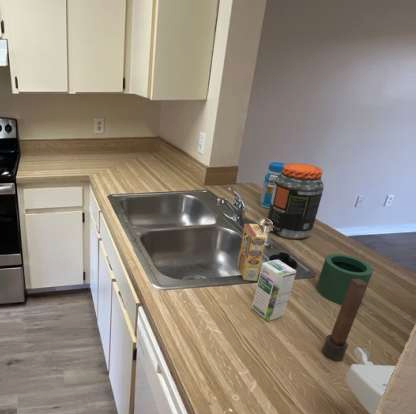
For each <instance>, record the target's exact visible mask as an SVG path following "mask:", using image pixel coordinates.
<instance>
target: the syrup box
mask: <svg viewBox="0 0 416 414" xmlns="http://www.w3.org/2000/svg"><path fill="white" fill-rule="evenodd" d="M296 275H297V270H296V269H295V268H293V267H291V266H289V265H288V264H286V263H285V262H282V261H281V260H280V259H273V260H268V261H265V262H263V263H261V266H260V270H259V274H258V279H257V284H256V288H255V293H254V297H253V301H252V305H251V309H252V310H253V311H255V312H256V313H257V314H258V315H259V316H260V317H262V318H263V319H264V320H265V321H266V322H270V321H273V320H277V319H280V318H282V317H284V316H285V313H286V310H287V305H288V302H289V299H290V295H291V292H292V288H293V285H294V282H295V278H296Z"/></svg>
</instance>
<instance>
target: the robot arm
mask: <svg viewBox="0 0 416 414" xmlns="http://www.w3.org/2000/svg"><path fill="white" fill-rule="evenodd" d="M353 354H354V356H355V358H356V359H357V360H358V363H352V364H351V365H349V367H348V370H347V372H346V375H345V384H346V385H347V387H348V389H349V390H350V391H351V393H352V394H353V396H355V398H356V399H357V400H358V402H359V403H360V405H361V406H362V407H363V408H364V409H365V410H366V412H368V413H369V414H375V411H376V409H377V407H378V404H379V401H380V399H381V398H382V396H383V394H384V392H385V389H386V386H387V384H388V382H389V379H390V377H391V375H392V373H393V371H394V369H395V367H396V366H397V365H387V364H386V365H384V364H374V363H373V362H372V361H370V358H371V355H372V354H371V352H370V351H368V350H367V348H366V347H357V346H356V347H355V348H354V350H353Z"/></svg>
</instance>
